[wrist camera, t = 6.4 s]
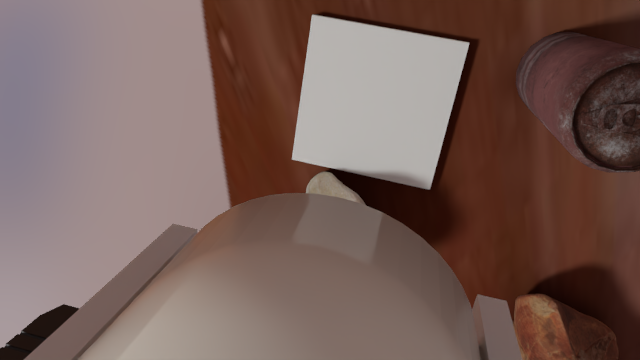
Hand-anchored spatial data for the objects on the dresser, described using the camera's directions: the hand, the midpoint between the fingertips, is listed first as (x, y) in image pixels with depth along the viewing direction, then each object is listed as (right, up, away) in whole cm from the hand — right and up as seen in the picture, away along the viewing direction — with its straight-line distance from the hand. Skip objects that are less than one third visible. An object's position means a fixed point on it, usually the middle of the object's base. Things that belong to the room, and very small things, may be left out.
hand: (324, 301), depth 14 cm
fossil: (+21, -10, +30) cm, 38 cm away
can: (+18, +11, +22) cm, 30 cm away
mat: (+4, +10, +25) cm, 27 cm away
